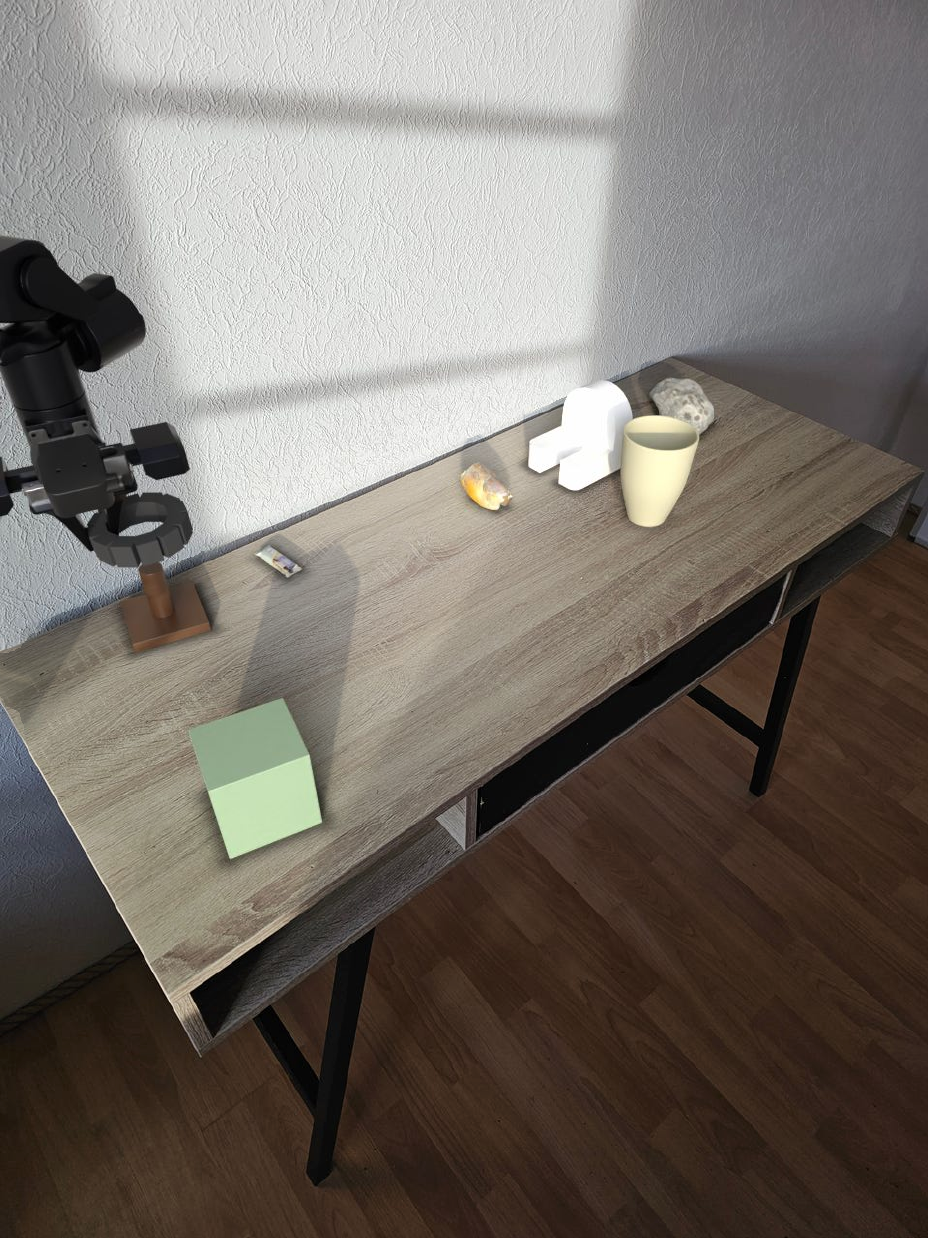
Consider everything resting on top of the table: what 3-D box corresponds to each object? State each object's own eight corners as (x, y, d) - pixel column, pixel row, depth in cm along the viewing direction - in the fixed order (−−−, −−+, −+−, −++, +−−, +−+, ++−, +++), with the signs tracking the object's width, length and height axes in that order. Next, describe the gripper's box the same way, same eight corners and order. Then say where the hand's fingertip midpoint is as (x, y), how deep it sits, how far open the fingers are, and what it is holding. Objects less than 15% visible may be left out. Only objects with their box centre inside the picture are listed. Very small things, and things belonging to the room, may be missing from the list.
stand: (135, 653, 86) (116, 600, 81) (122, 609, 91) (104, 557, 87) (211, 630, 89) (197, 578, 84) (194, 589, 94) (180, 537, 90)
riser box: (230, 859, 67) (208, 792, 62) (209, 797, 72) (187, 729, 66) (322, 823, 70) (310, 754, 64) (296, 765, 75) (283, 697, 69)
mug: (701, 520, 105) (721, 436, 97) (642, 544, 101) (658, 458, 93) (644, 482, 112) (658, 400, 104) (587, 503, 108) (597, 419, 100)
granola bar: (254, 556, 99) (252, 549, 98) (270, 548, 100) (268, 541, 99) (288, 581, 95) (286, 574, 95) (304, 572, 96) (303, 565, 96)
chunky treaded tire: (103, 578, 76) (95, 558, 74) (88, 528, 82) (80, 508, 80) (202, 549, 79) (196, 528, 77) (180, 502, 85) (174, 482, 83)
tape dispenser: (524, 464, 116) (528, 393, 109) (608, 424, 125) (617, 356, 118) (574, 492, 110) (582, 418, 103) (658, 448, 119) (671, 378, 112)
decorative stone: (628, 410, 128) (632, 379, 125) (679, 393, 133) (684, 364, 130) (682, 442, 121) (689, 411, 117) (735, 424, 125) (742, 393, 122)
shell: (522, 503, 109) (521, 485, 104) (499, 526, 108) (497, 510, 103) (478, 469, 111) (475, 451, 107) (455, 491, 110) (452, 474, 106)
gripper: (-76, 466, 60) (4, 625, 70) (182, 412, 66) (220, 565, 76) (-76, 402, 67) (-4, 554, 78) (156, 360, 74) (194, 506, 84)
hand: (103, 546), depth 79 cm, fingers closed on chunky treaded tire, 2 cm apart
